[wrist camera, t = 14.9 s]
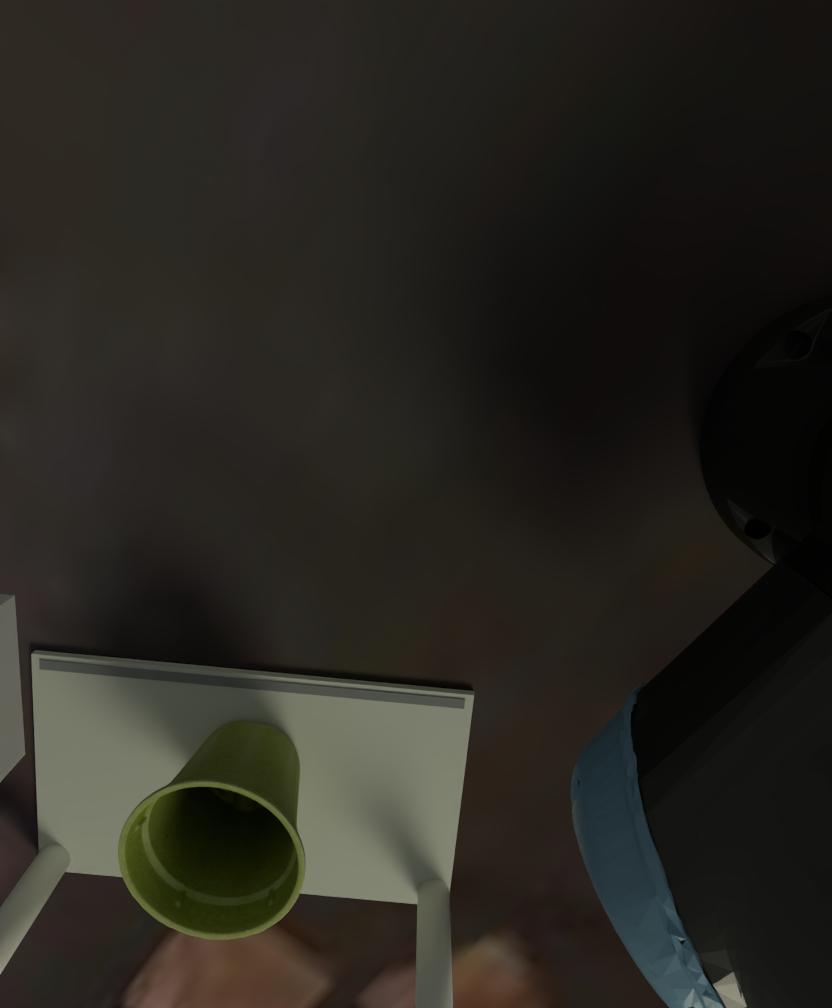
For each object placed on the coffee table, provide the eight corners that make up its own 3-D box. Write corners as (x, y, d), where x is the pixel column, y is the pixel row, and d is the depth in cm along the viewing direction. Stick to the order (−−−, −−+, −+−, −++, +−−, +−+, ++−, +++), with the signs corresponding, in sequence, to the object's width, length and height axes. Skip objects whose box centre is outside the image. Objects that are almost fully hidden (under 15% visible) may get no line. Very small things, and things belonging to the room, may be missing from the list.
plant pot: (244, 856, 50) (206, 970, 42) (140, 752, 48) (78, 850, 40) (358, 775, 48) (343, 877, 40) (254, 664, 46) (216, 747, 38)
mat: (473, 690, 47) (485, 801, 37) (447, 901, 51) (451, 1052, 41) (35, 650, 47) (-74, 749, 37) (43, 863, 51) (-54, 1006, 41)
